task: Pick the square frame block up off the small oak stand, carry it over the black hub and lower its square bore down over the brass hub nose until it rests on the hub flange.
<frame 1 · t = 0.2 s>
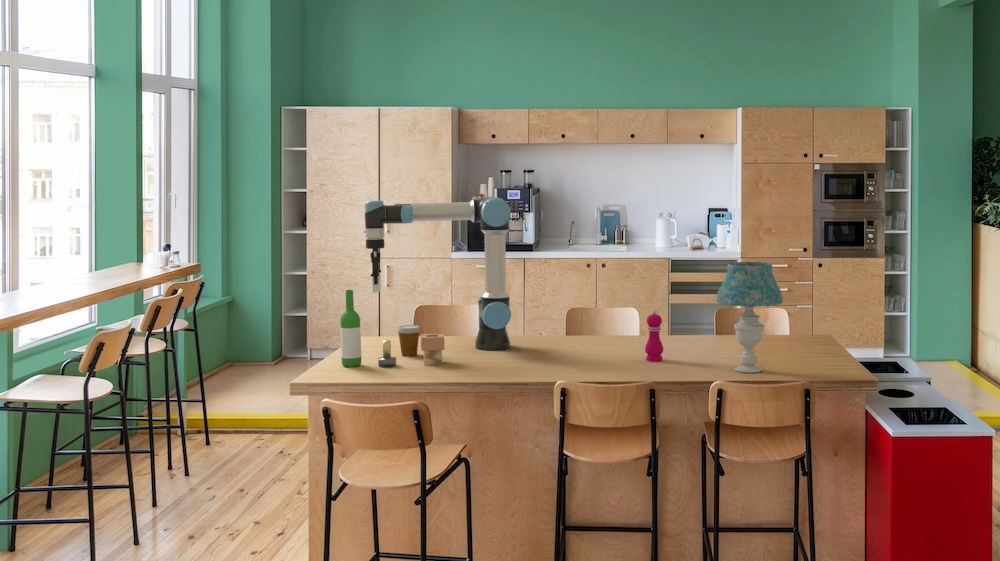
hand: (376, 290, 404), 28 cm above the countertop, tool pointing down, fingers open, 13 cm apart
disposable coffee cup: (409, 355, 411), on the countertop
pepper mill: (654, 361, 391), on the countertop
hub: (387, 365, 389), on the countertop
stand: (432, 363, 393), on the countertop
square frame block: (432, 348, 392), point 6 cm above the countertop, touching stand
wine bottle: (351, 366, 390), on the countertop
table lamp: (748, 371, 368), on the countertop
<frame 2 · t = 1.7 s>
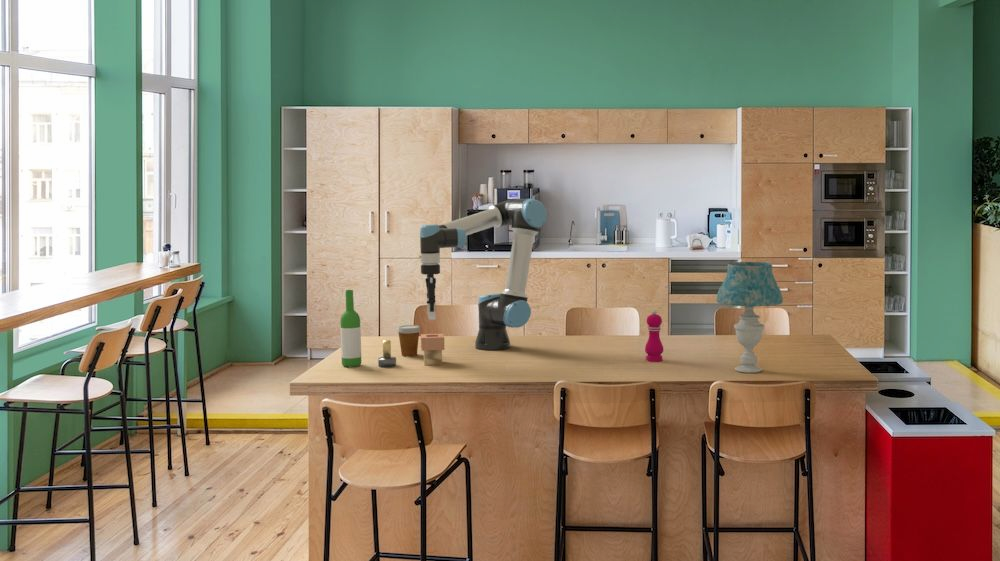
hand: (431, 317, 391), 18 cm above the countertop, tool pointing down, fingers open, 13 cm apart
nothing on the countertop moved.
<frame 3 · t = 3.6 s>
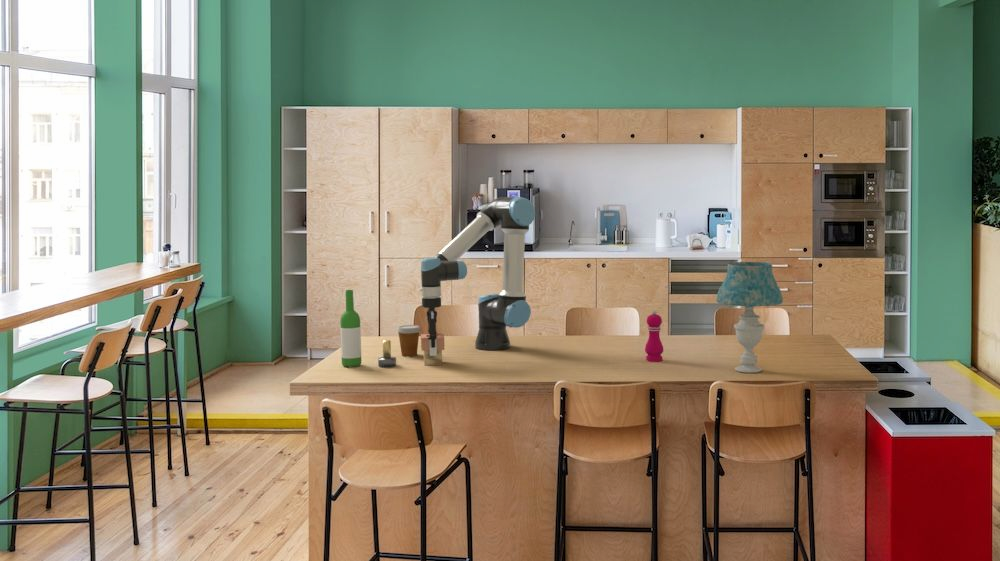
hand: (432, 353, 392), 4 cm above the countertop, tool pointing down, fingers closed on square frame block, 9 cm apart
square frame block: (432, 348, 392), point 6 cm above the countertop, touching gripper, stand
everything else where it was.
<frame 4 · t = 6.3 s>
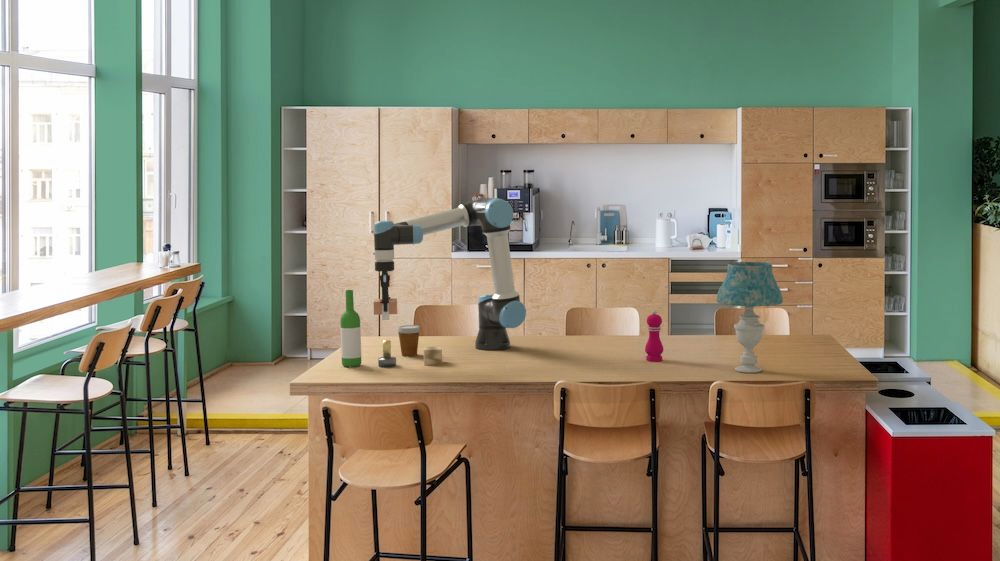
hand: (385, 318, 387), 19 cm above the countertop, tool pointing down, fingers closed on square frame block, 9 cm apart
square frame block: (385, 312, 386), point 21 cm above the countertop, touching gripper
everything else where it was.
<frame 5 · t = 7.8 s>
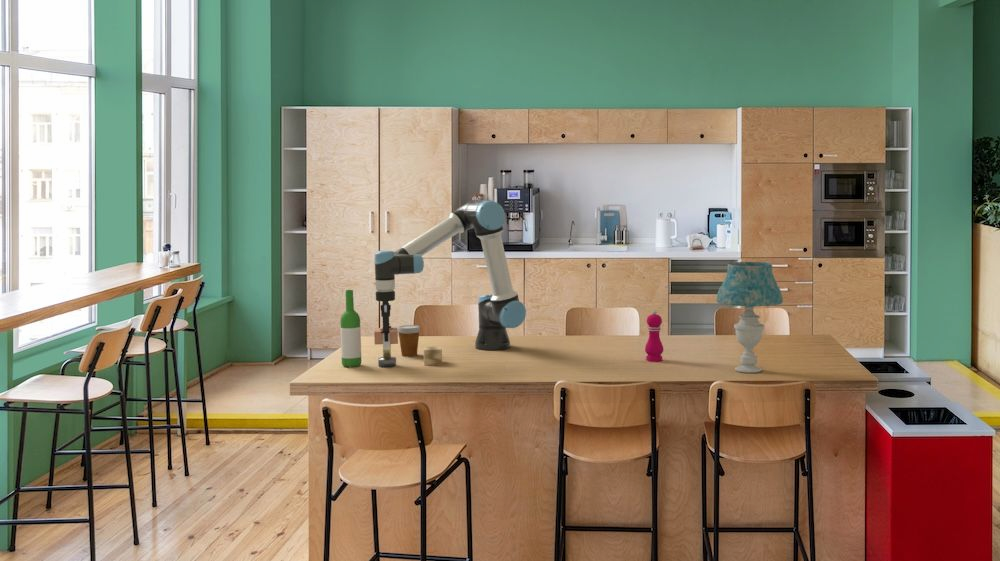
hand: (386, 347, 388), 7 cm above the countertop, tool pointing down, fingers closed on square frame block, 9 cm apart
square frame block: (386, 342, 388), point 9 cm above the countertop, touching gripper
everything else where it was.
when the fingers open (3 cm above the countertop, at t = 9.1 s): square frame block drops 2 cm, resting on hub.
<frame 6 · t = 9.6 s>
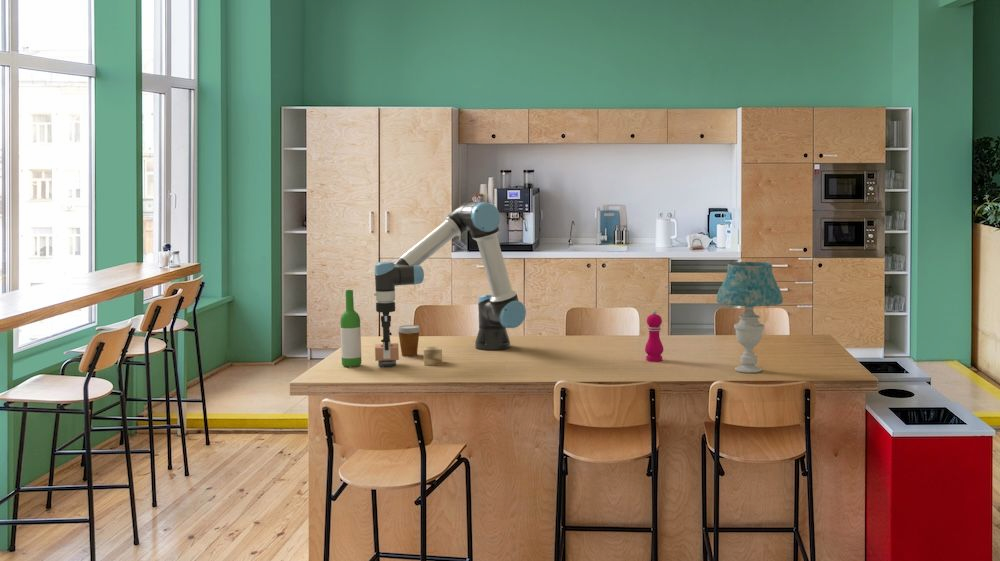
hand: (387, 355, 388), 4 cm above the countertop, tool pointing down, fingers open, 13 cm apart
square frame block: (387, 358, 389), point 3 cm above the countertop, touching hub
everything else where it was.
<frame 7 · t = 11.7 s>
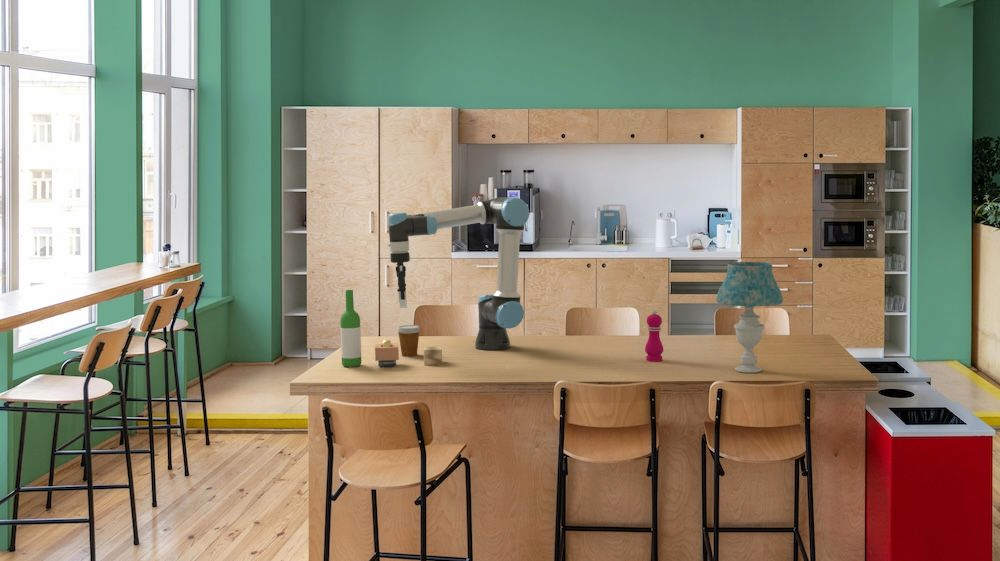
hand: (402, 305, 393), 23 cm above the countertop, tool pointing down, fingers open, 13 cm apart
nothing on the countertop moved.
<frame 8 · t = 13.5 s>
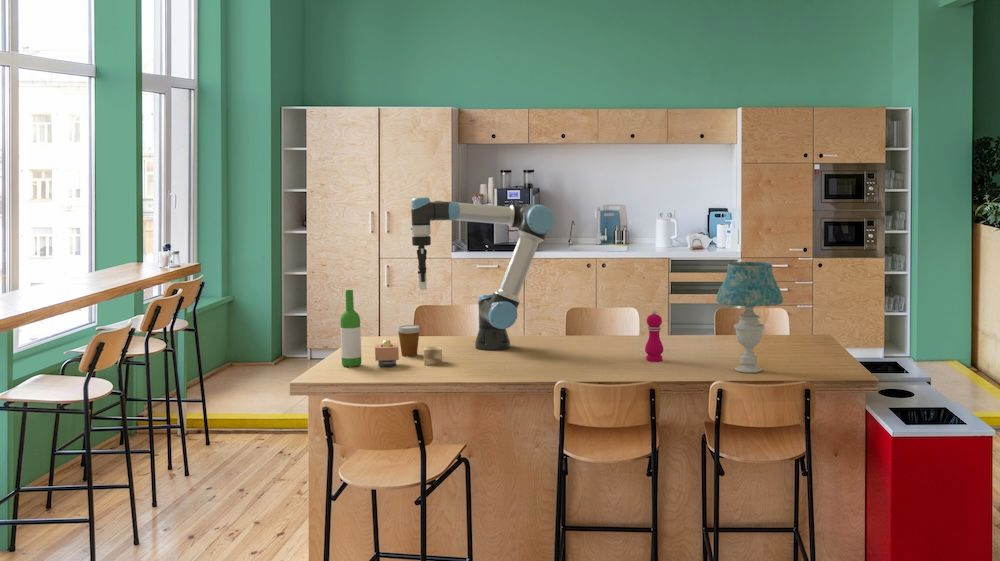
hand: (422, 287, 402), 29 cm above the countertop, tool pointing down, fingers open, 13 cm apart
nothing on the countertop moved.
at the end: square frame block 0.0 cm off-centre on the hub, point 3.0 cm above the hub's base; square frame block tilted 0°; the gripper is holding nothing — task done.
